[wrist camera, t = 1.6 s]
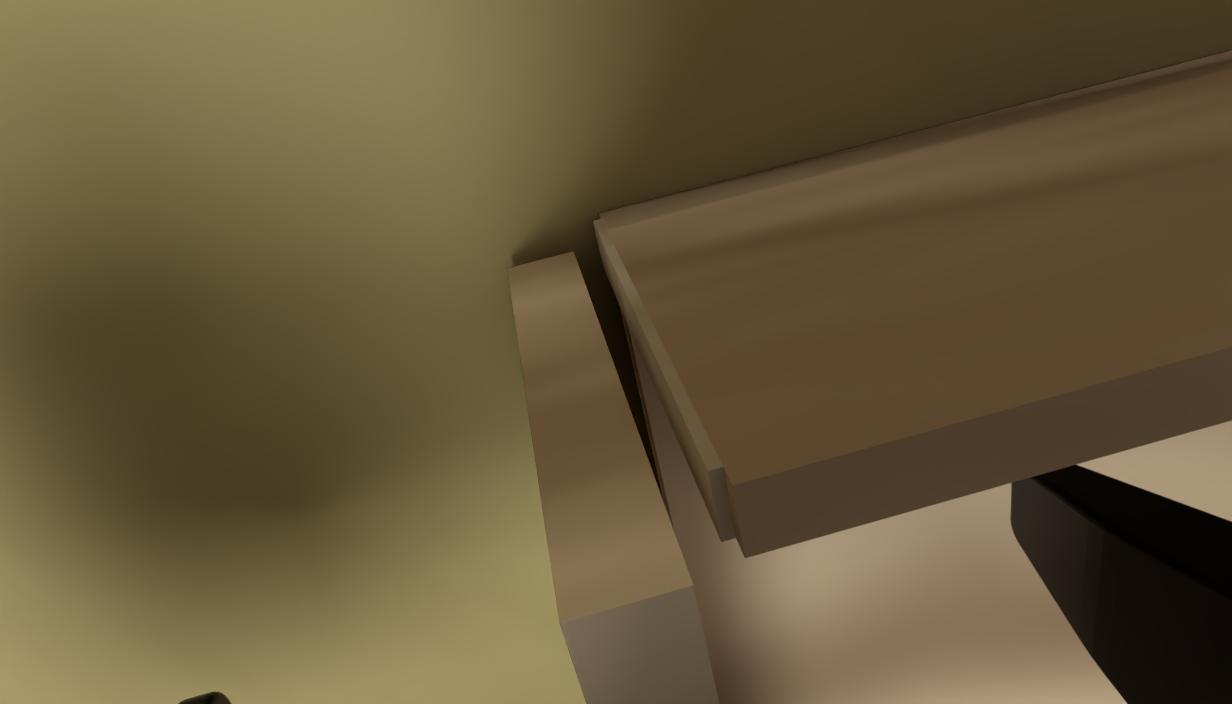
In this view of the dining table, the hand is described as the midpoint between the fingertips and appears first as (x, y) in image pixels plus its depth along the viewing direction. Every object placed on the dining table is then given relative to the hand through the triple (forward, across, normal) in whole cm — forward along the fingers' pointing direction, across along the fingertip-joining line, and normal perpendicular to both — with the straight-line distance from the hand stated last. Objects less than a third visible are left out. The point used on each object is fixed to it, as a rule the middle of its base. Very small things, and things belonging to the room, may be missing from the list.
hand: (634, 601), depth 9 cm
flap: (+2, 0, +5) cm, 6 cm away
